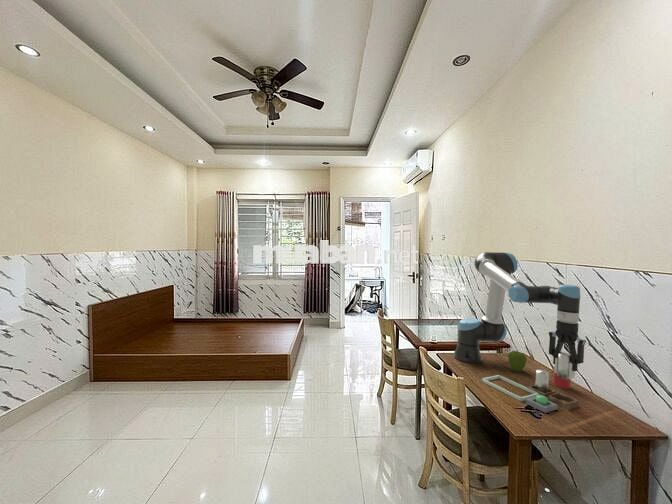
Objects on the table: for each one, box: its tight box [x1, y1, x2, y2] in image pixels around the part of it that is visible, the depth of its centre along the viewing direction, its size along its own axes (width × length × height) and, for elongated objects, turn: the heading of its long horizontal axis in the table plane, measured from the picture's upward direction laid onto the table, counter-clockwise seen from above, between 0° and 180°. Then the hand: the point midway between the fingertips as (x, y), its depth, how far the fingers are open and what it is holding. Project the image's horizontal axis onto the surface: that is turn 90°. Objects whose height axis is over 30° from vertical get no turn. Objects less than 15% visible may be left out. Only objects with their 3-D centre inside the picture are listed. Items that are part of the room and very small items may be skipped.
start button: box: [536, 395, 548, 406], centre depth 129 cm, size 4×4×3 cm
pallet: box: [524, 384, 582, 411], centre depth 137 cm, size 18×10×3 cm, turn 25°
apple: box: [507, 350, 528, 373], centre depth 168 cm, size 9×8×12 cm
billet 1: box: [534, 368, 550, 393], centre depth 141 cm, size 5×5×10 cm
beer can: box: [552, 365, 571, 390], centre depth 150 cm, size 7×7×12 cm
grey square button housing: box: [525, 396, 559, 414], centre depth 129 cm, size 8×8×3 cm
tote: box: [480, 374, 540, 402], centre depth 145 cm, size 21×13×2 cm, turn 25°
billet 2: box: [557, 351, 572, 381], centre depth 133 cm, size 5×5×10 cm
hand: (564, 375), depth 133 cm, fingers closed on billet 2, 5 cm apart
